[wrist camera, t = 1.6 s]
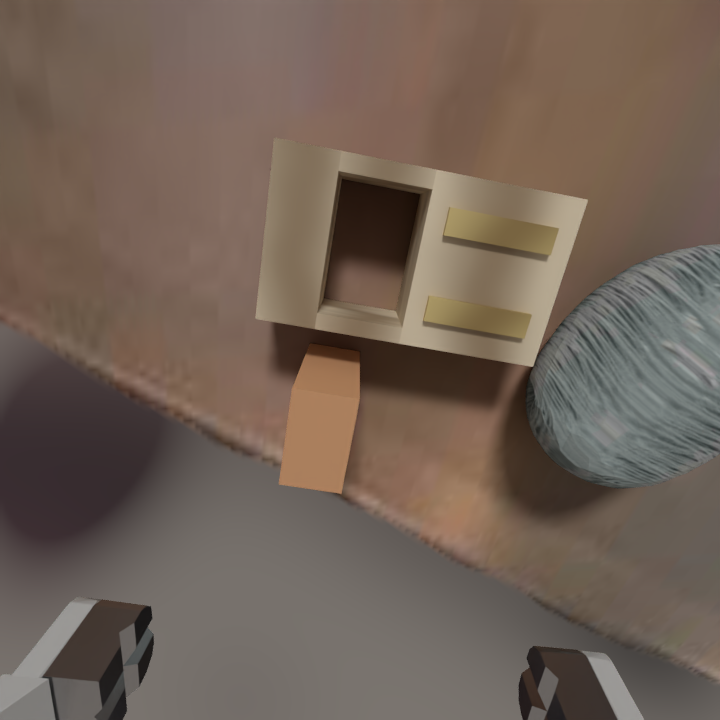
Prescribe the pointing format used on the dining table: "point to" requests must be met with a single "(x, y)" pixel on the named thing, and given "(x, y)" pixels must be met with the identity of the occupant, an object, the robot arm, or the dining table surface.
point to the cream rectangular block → (420, 255)
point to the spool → (635, 375)
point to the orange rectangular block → (321, 419)
